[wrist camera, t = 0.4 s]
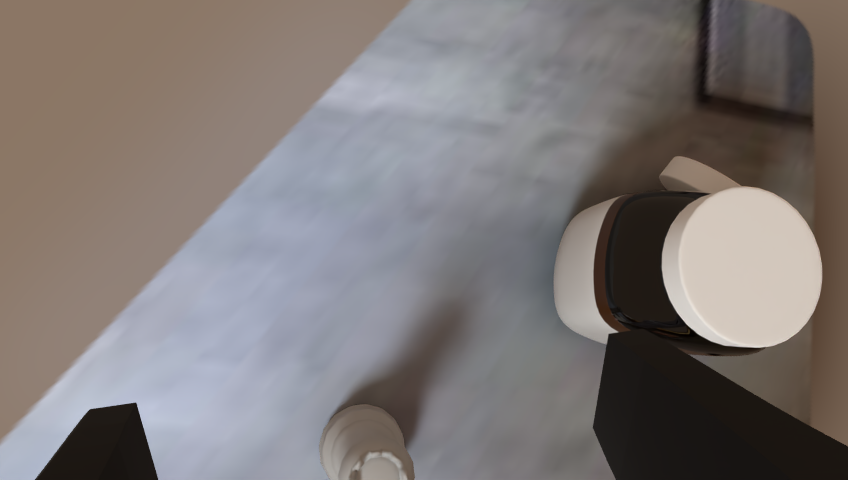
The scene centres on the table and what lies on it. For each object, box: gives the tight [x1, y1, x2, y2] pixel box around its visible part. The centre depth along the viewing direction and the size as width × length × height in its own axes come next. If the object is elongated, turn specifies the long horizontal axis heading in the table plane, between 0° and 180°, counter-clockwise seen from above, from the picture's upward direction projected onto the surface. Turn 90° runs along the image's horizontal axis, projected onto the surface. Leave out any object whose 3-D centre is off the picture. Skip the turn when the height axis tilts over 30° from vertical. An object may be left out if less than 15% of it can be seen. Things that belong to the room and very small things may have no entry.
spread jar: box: [554, 156, 822, 356], centre depth 33 cm, size 12×11×12 cm
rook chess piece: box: [319, 404, 415, 480], centre depth 30 cm, size 4×4×8 cm
